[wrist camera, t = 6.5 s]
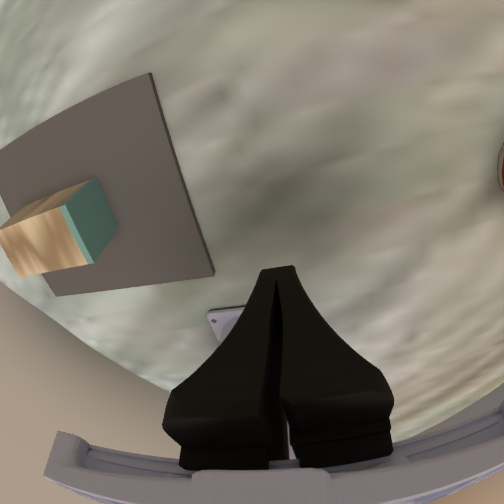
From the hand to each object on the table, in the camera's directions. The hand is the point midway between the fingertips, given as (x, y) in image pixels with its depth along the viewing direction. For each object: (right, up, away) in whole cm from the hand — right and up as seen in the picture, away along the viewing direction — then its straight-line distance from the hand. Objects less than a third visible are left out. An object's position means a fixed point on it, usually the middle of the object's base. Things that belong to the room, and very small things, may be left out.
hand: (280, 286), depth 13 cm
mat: (-15, +5, +9) cm, 18 cm away
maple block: (-12, +4, +7) cm, 14 cm away
